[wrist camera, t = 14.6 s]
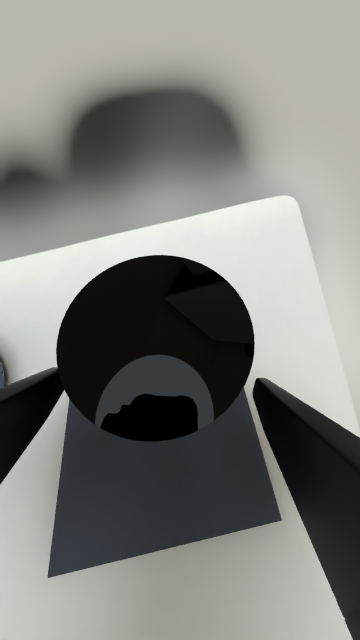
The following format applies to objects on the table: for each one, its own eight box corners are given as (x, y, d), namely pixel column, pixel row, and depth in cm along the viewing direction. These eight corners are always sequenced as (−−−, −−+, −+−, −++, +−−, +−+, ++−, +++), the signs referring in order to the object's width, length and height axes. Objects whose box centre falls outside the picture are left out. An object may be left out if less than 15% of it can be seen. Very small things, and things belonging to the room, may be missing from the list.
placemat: (278, 516, 12) (282, 520, 11) (52, 570, 10) (47, 578, 10) (213, 286, 20) (214, 283, 20) (84, 299, 19) (81, 296, 18)
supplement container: (201, 335, 17) (236, 254, 7) (208, 411, 14) (280, 437, 5) (133, 336, 17) (80, 254, 7) (126, 414, 14) (22, 449, 4)
